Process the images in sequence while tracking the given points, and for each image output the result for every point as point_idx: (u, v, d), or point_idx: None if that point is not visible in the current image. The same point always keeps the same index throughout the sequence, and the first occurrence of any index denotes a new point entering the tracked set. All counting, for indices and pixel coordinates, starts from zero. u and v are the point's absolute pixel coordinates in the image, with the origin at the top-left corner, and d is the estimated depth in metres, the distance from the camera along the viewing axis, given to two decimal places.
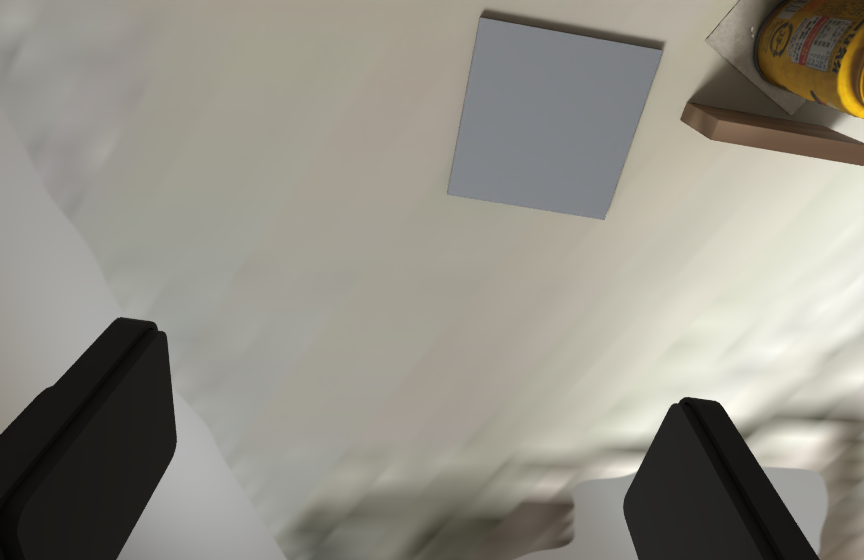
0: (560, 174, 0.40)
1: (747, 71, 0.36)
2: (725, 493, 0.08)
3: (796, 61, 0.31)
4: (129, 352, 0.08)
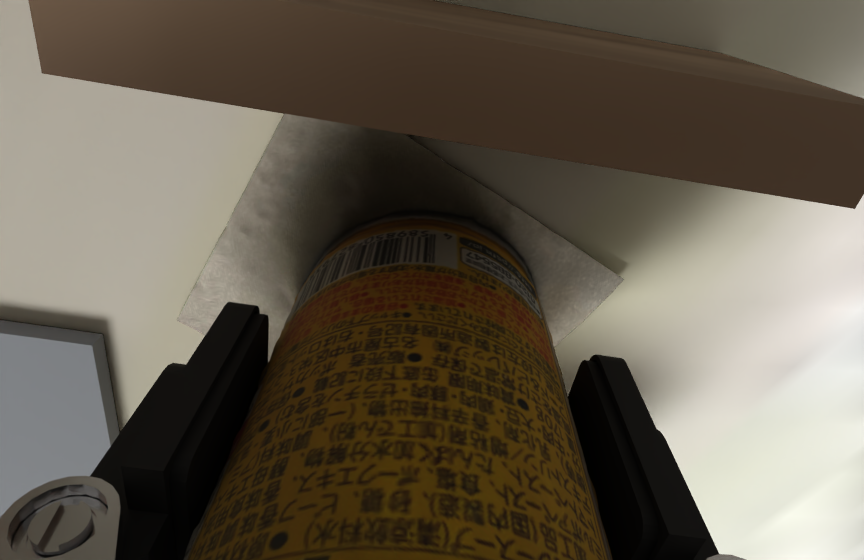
0: None
1: None
2: (612, 435, 0.09)
3: None
4: (244, 332, 0.09)
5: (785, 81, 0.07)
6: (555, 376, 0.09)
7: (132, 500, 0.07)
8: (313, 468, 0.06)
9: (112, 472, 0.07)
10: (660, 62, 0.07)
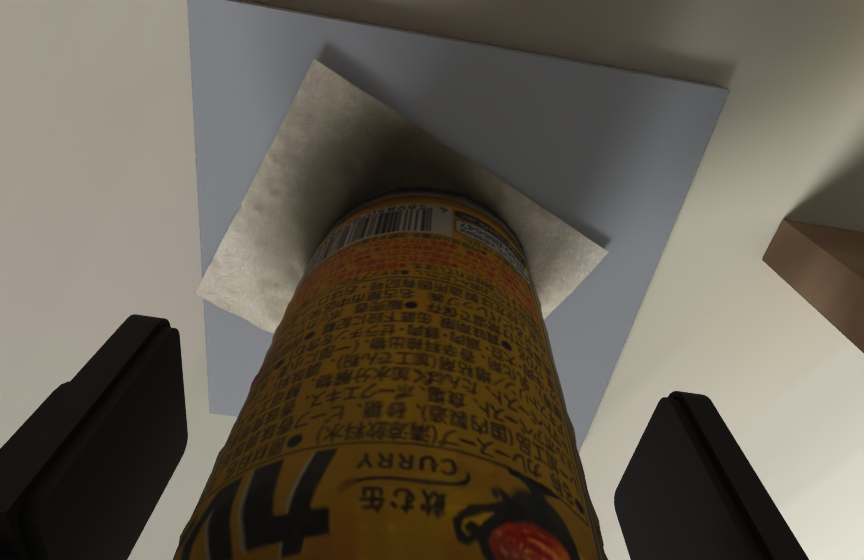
0: None
1: None
2: (711, 484, 0.08)
3: None
4: (143, 348, 0.08)
5: None
6: (539, 330, 0.10)
7: None
8: (322, 389, 0.07)
9: None
10: None
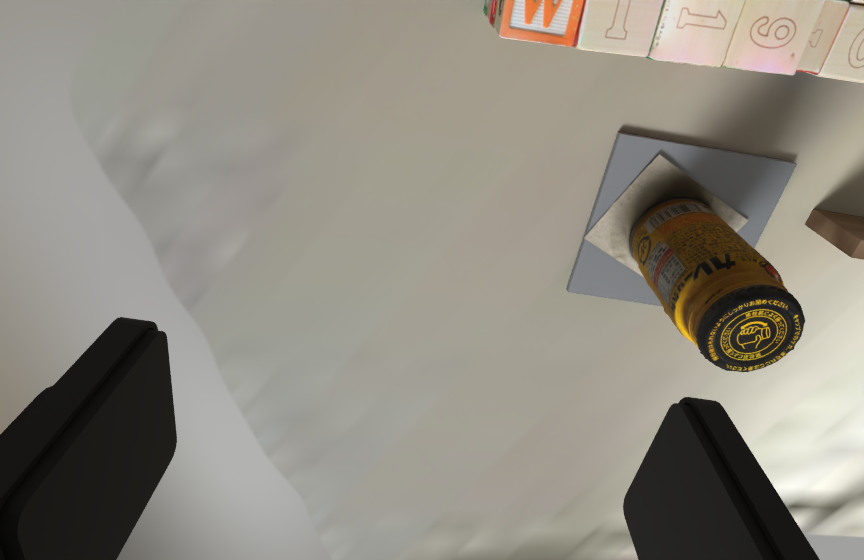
0: None
1: (625, 261, 0.40)
2: (725, 493, 0.08)
3: (652, 279, 0.35)
4: (129, 352, 0.08)
5: None
6: None
7: None
8: (712, 245, 0.31)
9: None
10: None
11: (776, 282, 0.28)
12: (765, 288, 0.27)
